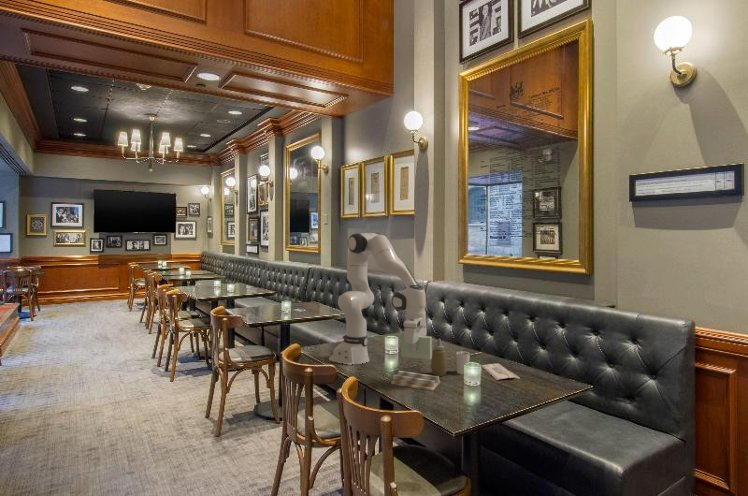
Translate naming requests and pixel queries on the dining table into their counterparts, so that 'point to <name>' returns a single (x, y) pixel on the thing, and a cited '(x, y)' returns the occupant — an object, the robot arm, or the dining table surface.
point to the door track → (416, 380)
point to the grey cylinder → (462, 361)
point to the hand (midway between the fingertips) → (416, 349)
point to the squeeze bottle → (439, 360)
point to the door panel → (422, 348)
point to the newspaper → (499, 371)
